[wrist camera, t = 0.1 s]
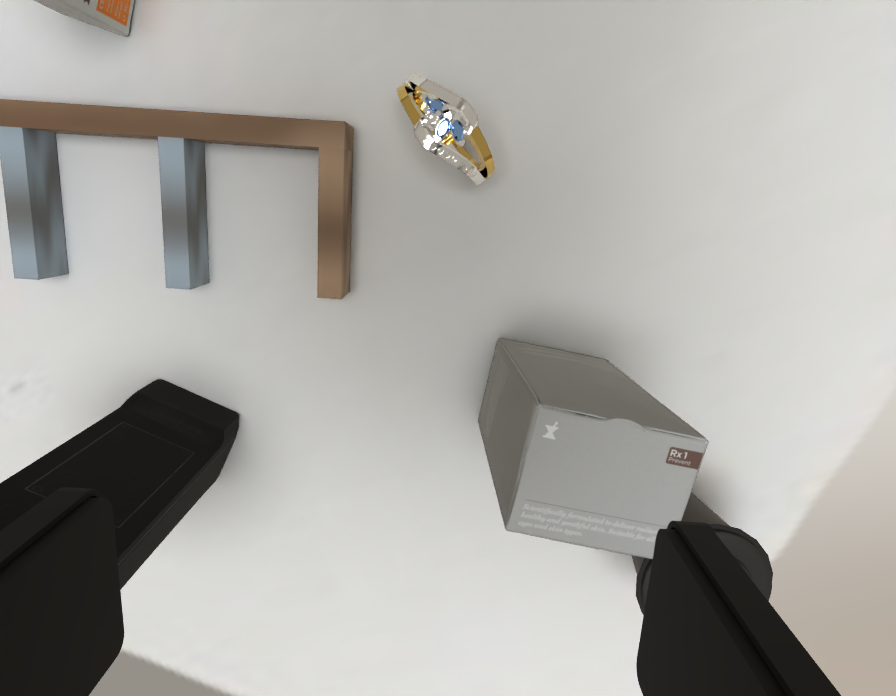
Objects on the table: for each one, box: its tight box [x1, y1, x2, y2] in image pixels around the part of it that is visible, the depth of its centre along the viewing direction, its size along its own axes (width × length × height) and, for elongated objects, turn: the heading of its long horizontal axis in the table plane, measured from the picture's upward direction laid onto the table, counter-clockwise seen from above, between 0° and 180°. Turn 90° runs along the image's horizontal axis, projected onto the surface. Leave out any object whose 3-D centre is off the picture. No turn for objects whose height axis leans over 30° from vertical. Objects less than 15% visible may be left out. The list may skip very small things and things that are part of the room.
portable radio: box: [0, 379, 238, 590], centre depth 31 cm, size 8×6×25 cm
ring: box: [397, 74, 495, 186], centre depth 34 cm, size 7×3×8 cm, turn 36°
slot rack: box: [0, 99, 353, 299], centre depth 38 cm, size 10×30×3 cm, turn 86°
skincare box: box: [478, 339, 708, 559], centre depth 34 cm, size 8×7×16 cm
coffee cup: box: [632, 493, 773, 615], centre depth 39 cm, size 8×8×10 cm
